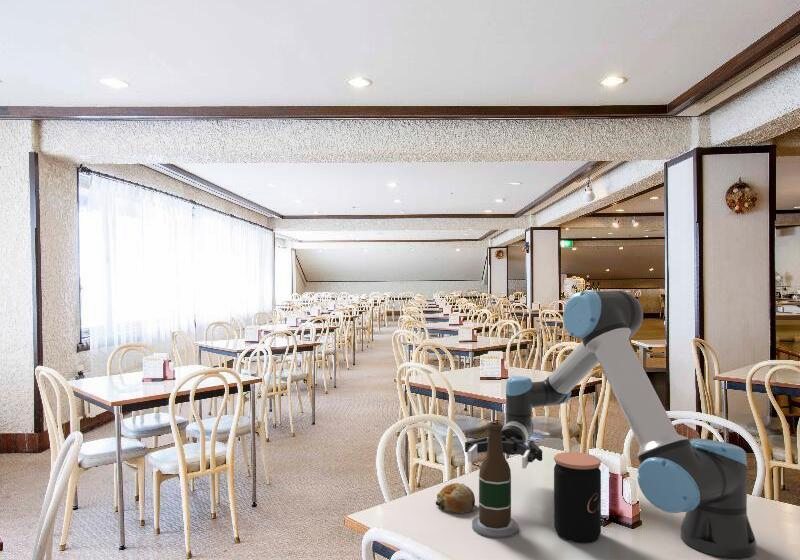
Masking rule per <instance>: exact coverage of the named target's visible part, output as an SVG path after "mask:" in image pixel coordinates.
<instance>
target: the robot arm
mask: <svg viewBox="0 0 800 560" xmlns="http://www.w3.org/2000/svg"><path fill="white" fill-rule="evenodd" d="M562 313H563V314H562V321H563V325H564V328H565V330H566V332H567V334H569V335H570V336H571V337H574V338H576V339H580V340H581V342H580V343H579V344H578V345H577V346H576V347H575V348H574V349H573V350H572V351H571V352H570V353H569V354H568V355H567V356H566V358H564V359H563V360H562V362H561V363H560V364H559V365H558V366H557V367H556V369H554V370H553V371H552V372H551V373H550V375H549V376H547V378H546V379H544V380H541V381H532V378H530V377H527V376H520V375H518V376H509V377H508V378H507V379H506V384H505V409H506V410H505V425H504V426H503V429H502V444H503V454H504V455H505V454H506V455H508V456H514V455H520V456H522V458H521V461H522V462H521V463H522V464H521V465H522V467H521V469H527V467H528V465H529V463H534V461H535V460H537V461H539V462H542V461H543V450H542V449H541V448H540V447H539V446H538V445H537V444H535V441H534V440H530V439H531V437H532V436H533V433H534V427H535V426H534V423H533V421H532V420H533V419H532V417H533V416H532V413H533V412H532V411H533V408H543V407H547V406H549V407H550V406H559V405H562V404H566V403H567V402H569V401H570V399H571V396H572V390H573V389H574V388H575V387H576V386H577V385H578V384H579V383H580V382H581V381H582V380H584V379H585V377H587V376H588V374H589V373H591V372H592V371H593V370H594V369H595V368H596V367H597V366H598V365H600V367H601V370H602V371H603V373H604V375H605V378H606V379H607V382H608V384H609V386H610V388H611V390H612V392H613V394H614V396H615V398H616V400H617V402H618V405H619V406H620V408H621V411H622V412H623V414H624V416H625V419H626V420H627V422H628V423H627V424H628V425H629V427H630V429H631V430H632V433H633V435H634V437H635V439H636V441H637V443H638V446H639V449H638V453H637V455H636V457H637V460H638V461H639V463H640V465H639V466H638V470H637V474H638V475H637V483H638V486H639V489H640V491H641V493H642V494H643V496H644V497H645V498H646V500H647V501H648V502H649V503H650V504H651V505H653V506H654V507H655V508H657V509H659V510H661V511H662V512H665V513H668V514H678V513H685V514H684V517H683V520H682V523H681V526H680V539H681V540H682V542H684V544H685V545H687V546H689V548H693V549H694V550H697V551H699V552H700V553H701V552H702V553H705V554H708V555H711V556H716V557H719V558H720V557H722V558H728V559H744V558H749V557H752V556H754V555H755V554H756V553H757V540H756V538H755V537H756V536H755V534H754V531H753V528H752V526H751V523H750V520H749V517H748V513H747V510H748V509H747V504H748V503H747V502H748V500H747V499H748V494H747V493H748V492H747V491H748V490H747V489H748V462H747V452H746V451H745V450H744V449H743V448H742V447H740V446H738V445H737V444H736V445H735V444H733V443H728V442H724V441H719V440H713V439H707V438H691V439H689V438H688V437H686V436H684V435H681V434H679V433H678V432H677V431H676V429H675V426H674V425H673V423H672V420H671V419H670V416H669V415H668V413H667V411H666V409H665V407H664V406H663V403H662V402H661V400H660V398H659V396H658V394H657V392H656V390H655V388H654V386H653V384H652V382H651V380H650V378H649V377H648V375H647V373H646V371H645V369H644V367H643V366H642V363H641V361H640V359H639V358H638V355H637V353H636V352H635V350H634V347H633V346H632V344H631V342H630V340H631V339H632V338H633V336H634V335H636V333H637V332H638V330H639V329H640V328H641V325H642V324H643V319H644V310H643V307H642V305H641V303H640V301H639V299H637V297H635V296H634V295H633V294H631V293H629V292H628V291H624V290H592V289H588V290H585V291H578V292H575V293H574V294H572V295H571V296H569V298H568V299H567V302H566V303H565V305H564V310H563V312H562ZM528 440H529V441H528ZM487 448H488V435H483V436H482V437H479V438H475V439H472V440H468V441H465V442H464V452H465V453H467V462H468V463H472V461H473V460H474V459H476V457H477V456H478V454H480V453H487Z"/></svg>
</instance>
